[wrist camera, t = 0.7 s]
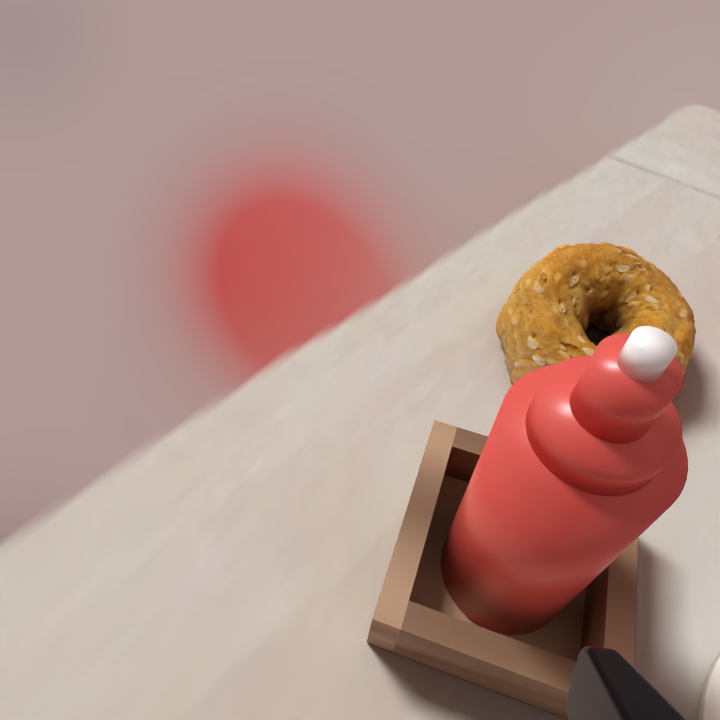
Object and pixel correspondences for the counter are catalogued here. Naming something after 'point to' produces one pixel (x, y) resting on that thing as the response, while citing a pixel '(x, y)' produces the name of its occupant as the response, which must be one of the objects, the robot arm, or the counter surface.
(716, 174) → the counter surface
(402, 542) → the tray
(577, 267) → the bagel
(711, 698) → the saucer
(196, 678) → the counter surface
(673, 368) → the ketchup bottle
